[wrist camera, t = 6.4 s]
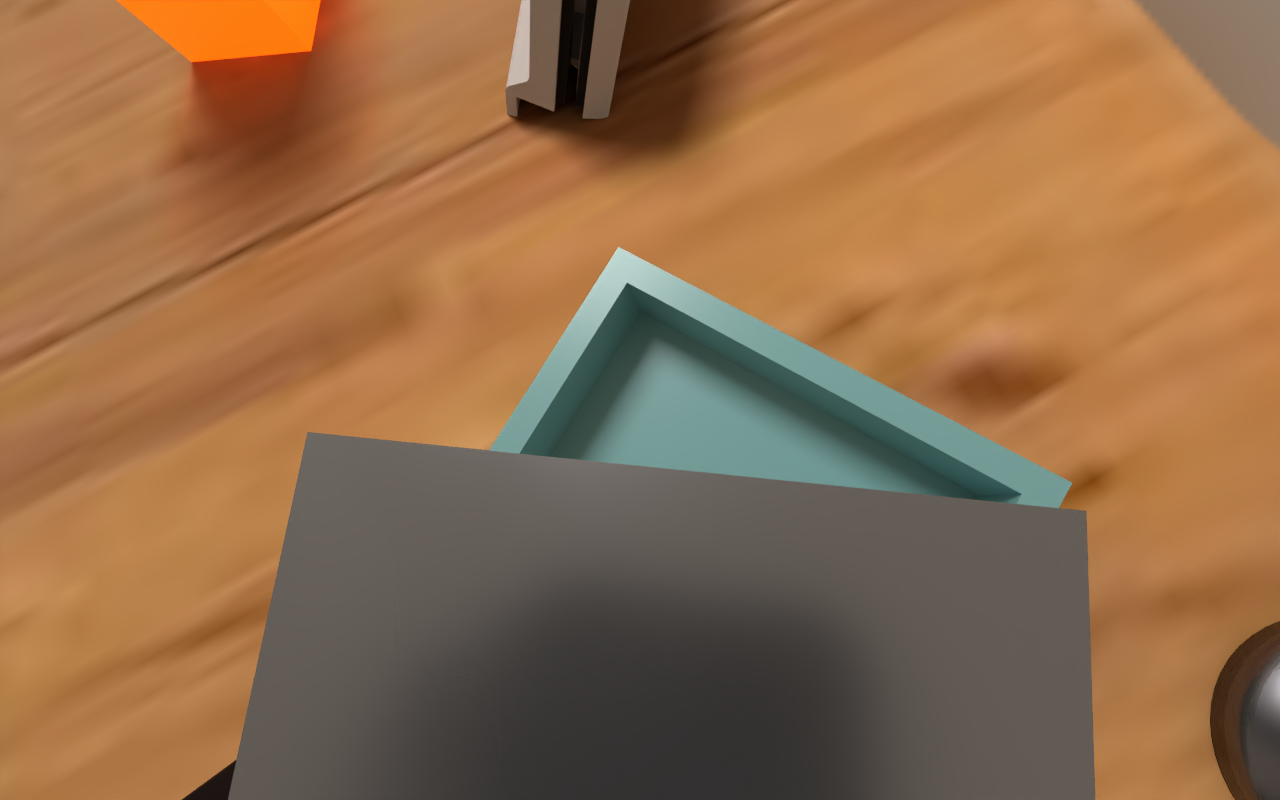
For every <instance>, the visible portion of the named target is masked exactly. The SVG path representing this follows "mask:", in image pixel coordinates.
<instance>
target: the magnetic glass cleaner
mask: <svg viewBox="0 0 1280 800" xmlns="http://www.w3.org/2000/svg"><path fill="white" fill-rule="evenodd" d="M629 4H630V0H522V1H521V7H520V12H519V18H518V23H517V29H516V35H515V40H514V46H513V52H512V57H511V63H510V69H509V74H508V80H507V86H506V104H507V114H508V115H511V116H518V110H519V104H520V98H521V99H523V100H526V101H528V102H531V103H533V104H536V105H538V106H541V107H543V108H546V109H548V110H551V111H553V112H554V110H555V104H556V102H557V103H561V104H565V99H566V92H567V86H568V79H569V72H570V64H572V65H573V66H574V67H576V68H577V69H578V70H579V71H578V80H577V89H576V99H575V107H579V108H583V109H584V110H583V118H586V119H601V118H606V117H609V112H610V107H611V101H612V96H613V90H614V85H615V80H616V74H617V69H618V63H619V58H620V52H621V47H622V42H623V36H624V31H625V25H626V20H627V15H628V9H629Z"/></svg>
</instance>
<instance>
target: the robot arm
mask: <svg viewBox="0 0 1280 800" xmlns="http://www.w3.org/2000/svg"><path fill="white" fill-rule="evenodd" d="M235 765H236V760H235V761H234V762H233V763H231V764H230V765H228V766H227V767H226V768H224V769H223V770H222V771H220V772H219V773H218V774H216V775H215V776H213V777H212V778H211V779H209V780H208V781H207V782H205V783H204V784H203V785H201V786H200V787H198V788H197V789H196V790H194V791H193V792H192V793H190V794H189V795H188V796H186V797H185V798H183V799H182V800H228V797H229V792H230V788H231V783H232V779H233V774H234V769H235Z"/></svg>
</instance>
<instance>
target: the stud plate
mask: <svg viewBox="0 0 1280 800" xmlns="http://www.w3.org/2000/svg"><path fill="white" fill-rule="evenodd" d="M1211 733H1212V740H1213V745H1214V750H1215V755H1216V758H1217V761H1218V763H1219V766H1220V769H1221V772H1222V774H1223V777H1224V779H1225V781H1226V783H1227V785H1228V787H1229V789H1230V791H1231V793H1232V794H1233V796H1234V797H1235V799H1236V800H1280V621H1279V622H1277V623H1275V624H1272V625H1270V626H1267V627H1265V628H1264V629H1262V630H1260V631H1259V632H1257V633H1255V634H1254V635H1252V636H1251V637H1250V638H1249V639H1247V640H1246V641H1245V642H1244V643H1243V644H1241V645H1240V646H1239V647H1238V649H1237V650H1236V651H1235V652H1234V653H1233V654H1232V655H1231V657H1230V658H1229V660H1228V661H1227V663H1226V664H1225V666H1224V668H1223V669H1222V671H1221V673H1220V676H1219V678H1218V681H1217V683H1216V686H1215V690H1214V694H1213V699H1212V705H1211Z"/></svg>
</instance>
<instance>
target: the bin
mask: <svg viewBox="0 0 1280 800" xmlns="http://www.w3.org/2000/svg"><path fill="white" fill-rule="evenodd" d="M489 451H498V452H508V453H518V454H528V455H538V456H547V457H557V458H567V459H577V460H587V461H597V462H607V463H617V464H627V465H636V466H646V467H656V468H666V469H676V470H686V471H696V472H706V473H716V474H725V475H735V476H745V477H755V478H765V479H775V480H785V481H795V482H805V483H814V484H824V485H834V486H844V487H854V488H864V489H874V490H884V491H894V492H903V493H913V494H923V495H933V496H943V497H953V498H963V499H973V500H983V501H992V502H1002V503H1012V504H1022V505H1032V506H1042V507H1052V508H1059V506H1060V505H1061V503H1062V501H1063V499H1064V497H1065V495H1066V493H1067V492H1068V490H1069V488H1070V486H1071V484H1072V482H1070V481H1068V480H1066V479H1064V478H1062V477H1060V476H1058V475H1056V474H1054V473H1052V472H1050V471H1048V470H1047V469H1045V468H1043V467H1041V466H1039V465H1037V464H1035V463H1033V462H1031V461H1029V460H1027V459H1025V458H1023V457H1022V456H1020V455H1018V454H1016V453H1014V452H1012V451H1010V450H1008V449H1006V448H1004V447H1002V446H1000V445H998V444H997V443H995V442H993V441H991V440H989V439H987V438H985V437H983V436H981V435H979V434H977V433H975V432H973V431H972V430H970V429H968V428H966V427H964V426H962V425H960V424H958V423H956V422H954V421H952V420H950V419H948V418H947V417H945V416H943V415H941V414H939V413H937V412H935V411H933V410H931V409H929V408H927V407H925V406H923V405H921V404H920V403H918V402H916V401H914V400H912V399H910V398H908V397H906V396H904V395H902V394H900V393H898V392H896V391H895V390H893V389H891V388H889V387H887V386H885V385H883V384H881V383H879V382H877V381H875V380H873V379H871V378H870V377H868V376H866V375H864V374H862V373H860V372H858V371H856V370H854V369H852V368H850V367H848V366H846V365H845V364H843V363H841V362H839V361H837V360H835V359H833V358H831V357H829V356H827V355H825V354H823V353H821V352H820V351H818V350H816V349H814V348H812V347H810V346H808V345H806V344H804V343H802V342H800V341H798V340H796V339H795V338H793V337H791V336H789V335H787V334H785V333H783V332H781V331H779V330H777V329H775V328H773V327H771V326H770V325H768V324H766V323H764V322H762V321H760V320H758V319H756V318H754V317H752V316H750V315H748V314H746V313H745V312H743V311H741V310H739V309H737V308H735V307H733V306H731V305H729V304H727V303H725V302H723V301H721V300H720V299H718V298H716V297H714V296H712V295H710V294H708V293H706V292H704V291H702V290H700V289H698V288H696V287H695V286H693V285H691V284H689V283H687V282H685V281H683V280H681V279H679V278H677V277H675V276H673V275H671V274H670V273H668V272H666V271H664V270H662V269H660V268H658V267H656V266H654V265H652V264H650V263H648V262H646V261H645V260H643V259H641V258H639V257H637V256H635V255H633V254H631V253H629V252H627V251H625V250H623V249H621V248H620V247H618V249H617V250H616V252H615V253H614V255H613V257H612V258H611V260H610V261H609V263H608V264H607V266H606V268H605V269H604V271H603V272H602V274H601V275H600V277H599V279H598V280H597V282H596V283H595V285H594V286H593V288H592V290H591V291H590V293H589V294H588V296H587V297H586V299H585V301H584V302H583V304H582V305H581V307H580V308H579V310H578V312H577V313H576V315H575V316H574V318H573V319H572V321H571V323H570V324H569V326H568V327H567V329H566V330H565V332H564V334H563V335H562V337H561V338H560V340H559V342H558V343H557V345H556V346H555V348H554V349H553V351H552V353H551V354H550V356H549V357H548V359H547V360H546V362H545V364H544V365H543V367H542V368H541V370H540V371H539V373H538V375H537V376H536V378H535V379H534V381H533V382H532V384H531V386H530V387H529V389H528V390H527V392H526V393H525V395H524V397H523V398H522V400H521V401H520V403H519V404H518V406H517V408H516V409H515V411H514V412H513V414H512V415H511V417H510V419H509V420H508V422H507V423H506V425H505V426H504V428H503V430H502V431H501V433H500V434H499V436H498V438H497V439H496V441H495V442H494V444H493V445H492V447H491V449H490V450H489Z"/></svg>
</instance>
